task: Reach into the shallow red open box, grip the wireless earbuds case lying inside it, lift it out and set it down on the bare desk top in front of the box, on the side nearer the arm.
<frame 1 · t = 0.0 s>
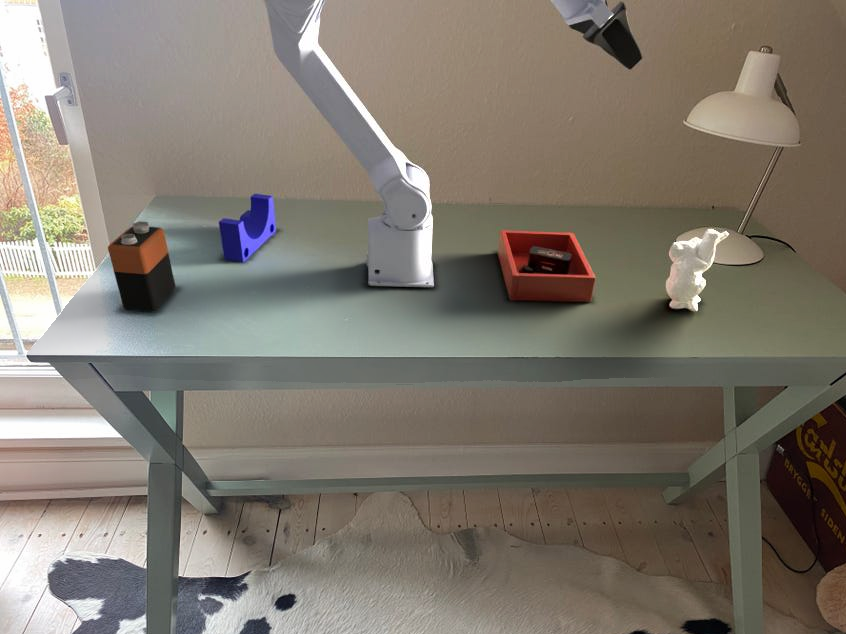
hand: (627, 57, 85), 32 cm above the table, tool tilted 50°, fingers open, 7 cm apart
battery: (151, 300, 88), on the table
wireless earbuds: (541, 274, 103), resting on red open box
red open box: (541, 276, 103), on the table
blue pipe saddle mount: (247, 245, 104), on the table
koala figurine: (681, 306, 99), on the table
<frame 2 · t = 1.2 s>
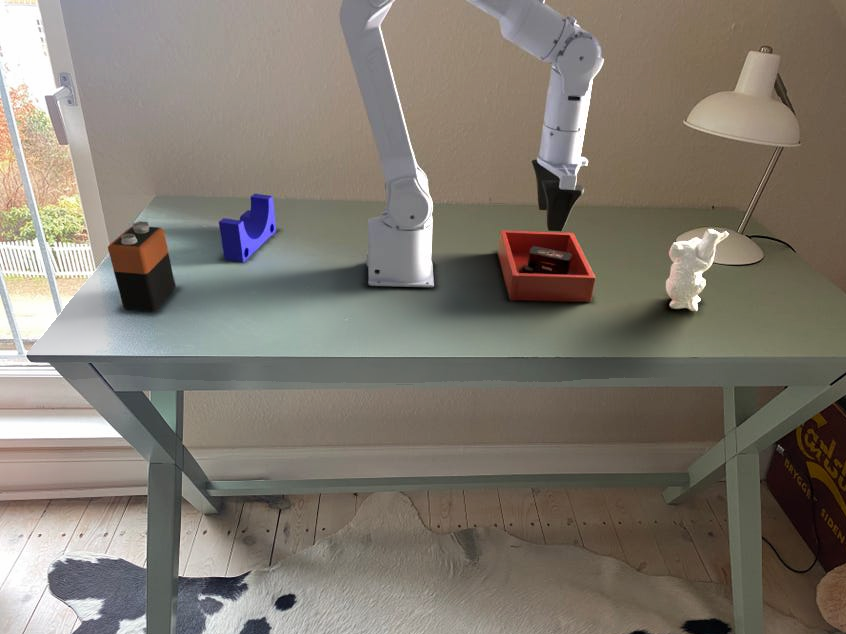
hand: (550, 219, 98), 9 cm above the table, tool pointing down, fingers open, 7 cm apart
nothing on the table moved.
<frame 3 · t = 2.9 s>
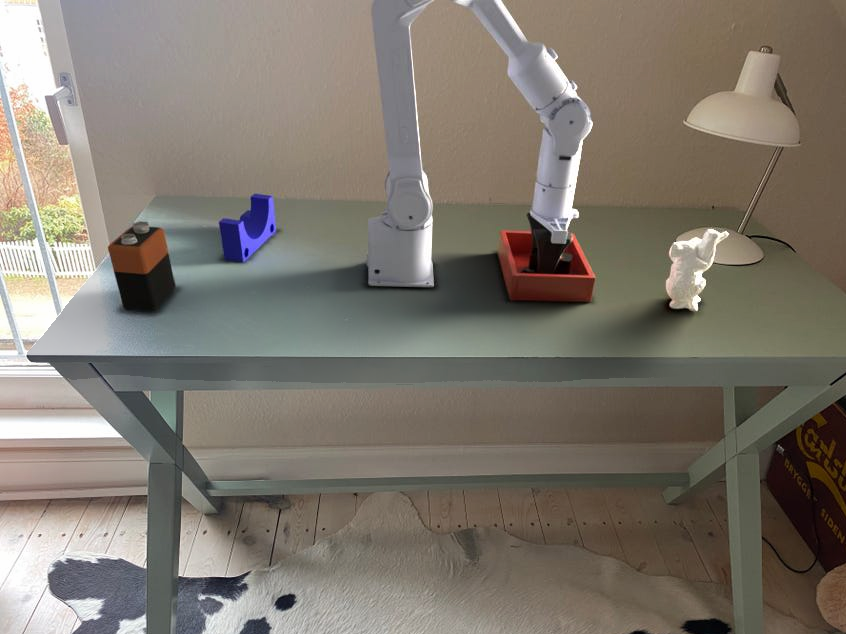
hand: (543, 266, 102), 2 cm above the table, tool pointing down, fingers closed on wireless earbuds, 4 cm apart
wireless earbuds: (542, 275, 103), resting on red open box, touching gripper
everything else where it was.
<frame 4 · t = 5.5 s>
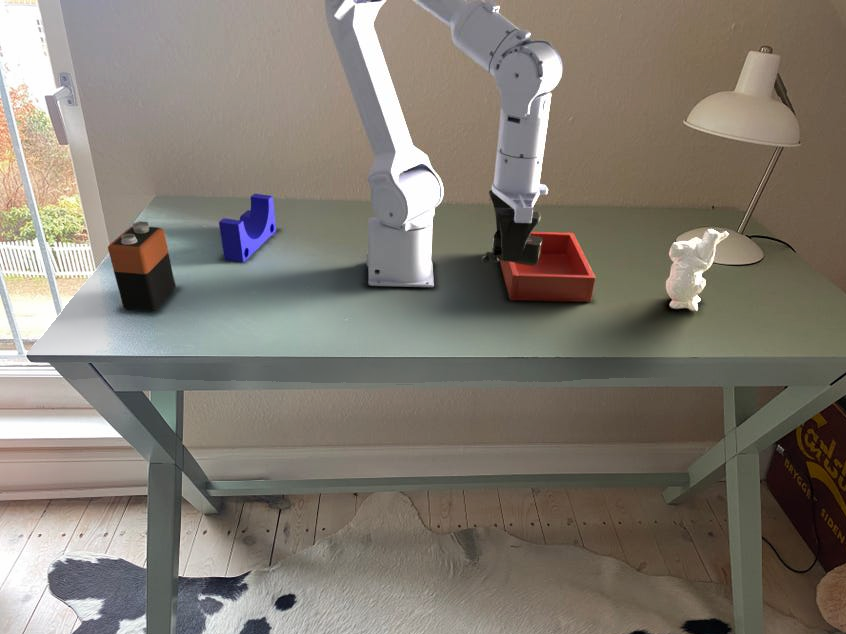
hand: (508, 252, 89), 9 cm above the table, tool pointing down, fingers closed on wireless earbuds, 4 cm apart
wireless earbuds: (508, 262, 89), point 8 cm above the table, touching gripper
everything else where it was.
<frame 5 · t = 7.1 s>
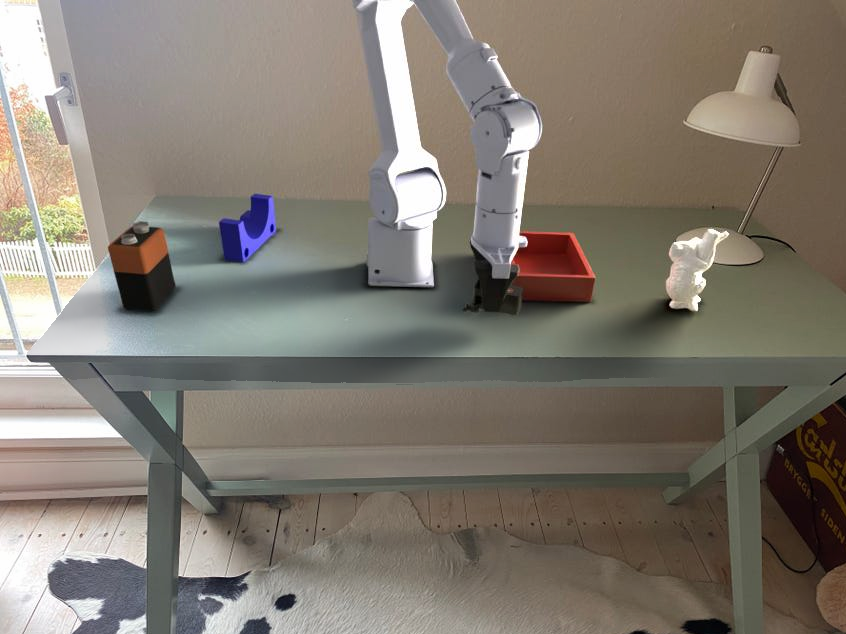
hand: (489, 301, 89), 3 cm above the table, tool pointing down, fingers closed on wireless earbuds, 4 cm apart
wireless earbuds: (489, 311, 89), point 2 cm above the table, touching gripper
everything else where it was.
when the fingers open (1 cm above the table, at t = 8.2 s): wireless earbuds stays where it is, on the table.
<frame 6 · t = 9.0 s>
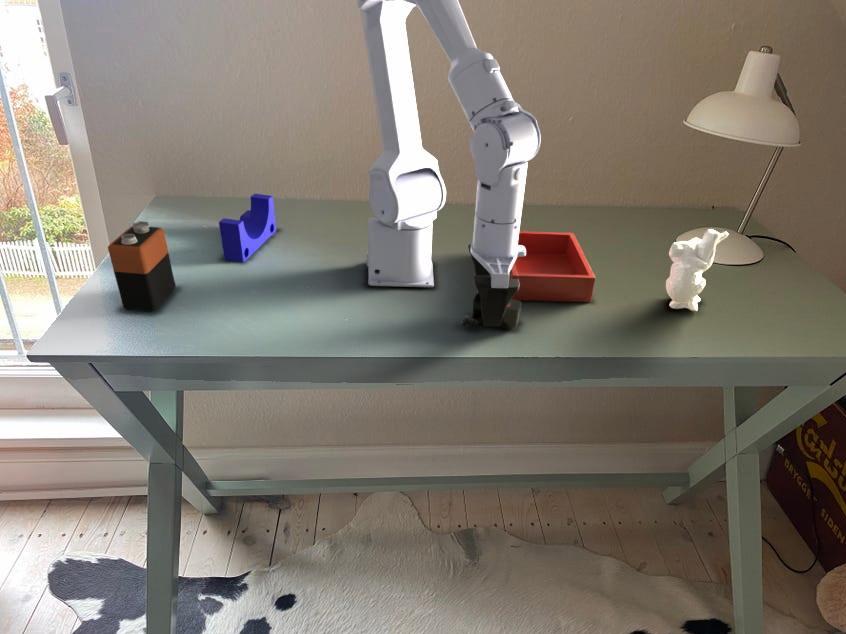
hand: (488, 309, 89), 2 cm above the table, tool pointing down, fingers open, 7 cm apart
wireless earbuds: (488, 324, 90), on the table
everything else where it was.
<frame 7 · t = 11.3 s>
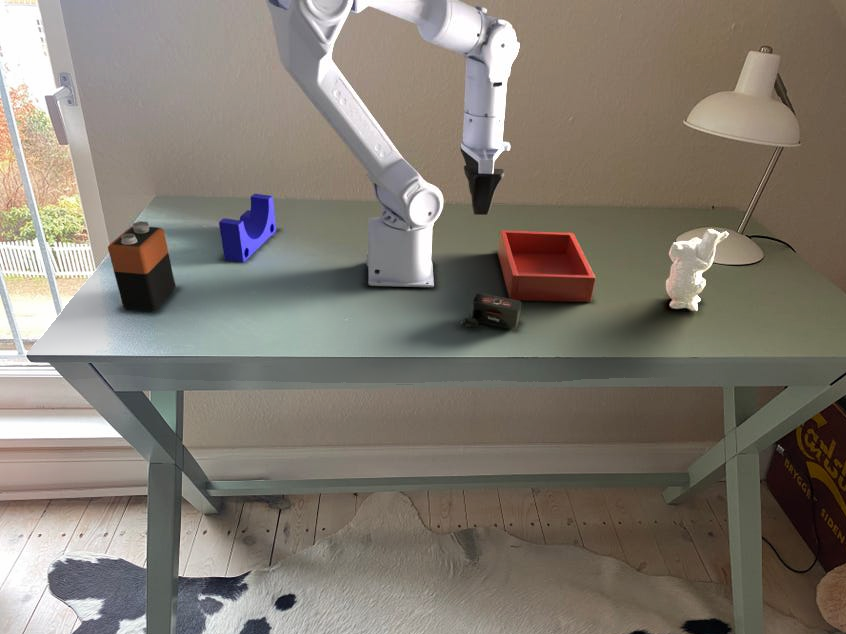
hand: (478, 203, 101), 9 cm above the table, tool pointing down, fingers open, 7 cm apart
nothing on the table moved.
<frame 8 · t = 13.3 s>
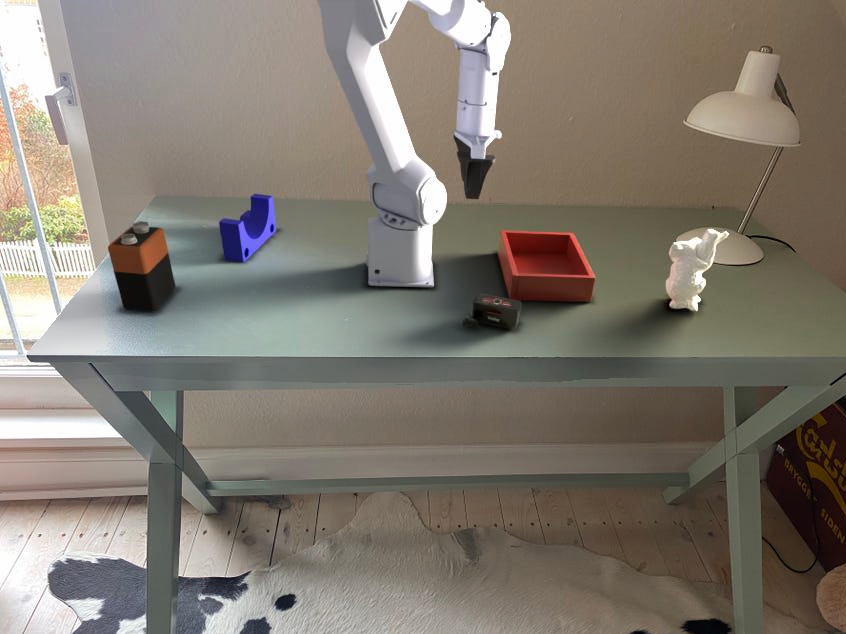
hand: (470, 189, 105), 9 cm above the table, tool pointing down, fingers open, 7 cm apart
nothing on the table moved.
at the end: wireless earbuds inside the target area (0.5 cm from its centre), on the table; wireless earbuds touching table; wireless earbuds tilted 0° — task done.
